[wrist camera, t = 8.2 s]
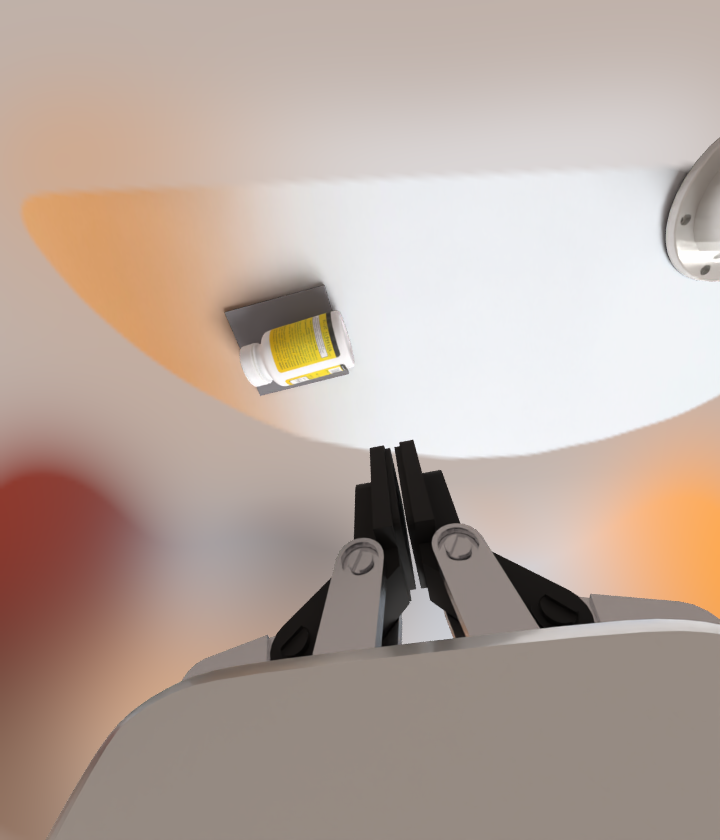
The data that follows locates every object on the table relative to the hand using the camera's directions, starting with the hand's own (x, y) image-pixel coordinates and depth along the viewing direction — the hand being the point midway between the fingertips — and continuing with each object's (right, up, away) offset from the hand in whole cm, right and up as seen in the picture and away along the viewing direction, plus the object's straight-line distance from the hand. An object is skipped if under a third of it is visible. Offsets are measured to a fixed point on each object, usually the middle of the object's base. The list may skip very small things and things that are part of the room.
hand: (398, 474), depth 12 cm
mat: (-9, +10, +21) cm, 24 cm away
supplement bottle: (-2, +10, +17) cm, 20 cm away
